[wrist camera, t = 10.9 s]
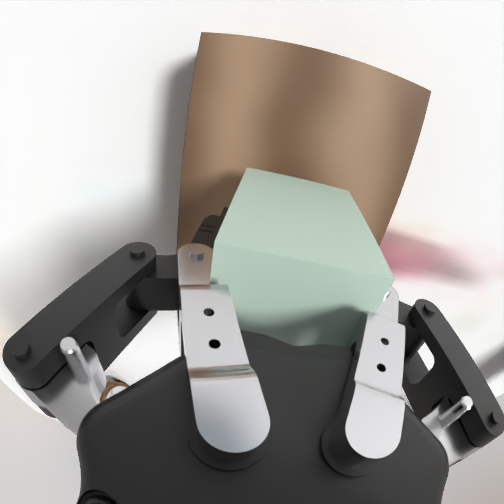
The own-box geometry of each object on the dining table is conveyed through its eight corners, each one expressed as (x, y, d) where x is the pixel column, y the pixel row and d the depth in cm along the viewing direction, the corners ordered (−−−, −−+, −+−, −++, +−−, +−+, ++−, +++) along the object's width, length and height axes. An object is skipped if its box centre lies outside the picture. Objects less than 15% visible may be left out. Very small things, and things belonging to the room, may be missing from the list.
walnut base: (403, 88, 14) (431, 91, 11) (328, 302, 24) (333, 337, 21) (218, 43, 14) (201, 32, 11) (190, 275, 24) (175, 307, 20)
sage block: (348, 190, 13) (394, 278, 7) (319, 272, 16) (332, 378, 10) (247, 167, 13) (214, 242, 7) (231, 254, 16) (202, 357, 10)
